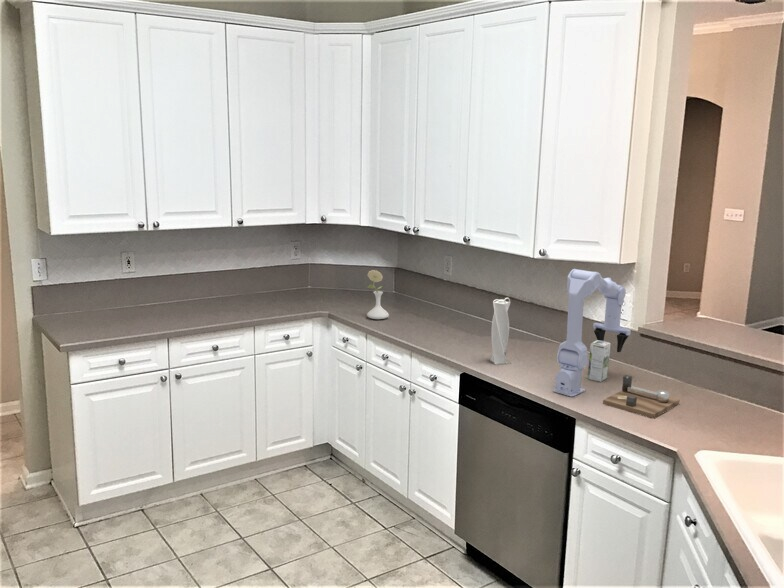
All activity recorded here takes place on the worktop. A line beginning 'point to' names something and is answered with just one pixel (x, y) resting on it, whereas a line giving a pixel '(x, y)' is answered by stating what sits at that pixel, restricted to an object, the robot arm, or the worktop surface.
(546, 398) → the worktop surface
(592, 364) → the syrup box
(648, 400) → the board
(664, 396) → the press lever
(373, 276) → the flower in vase
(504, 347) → the skyscraper
